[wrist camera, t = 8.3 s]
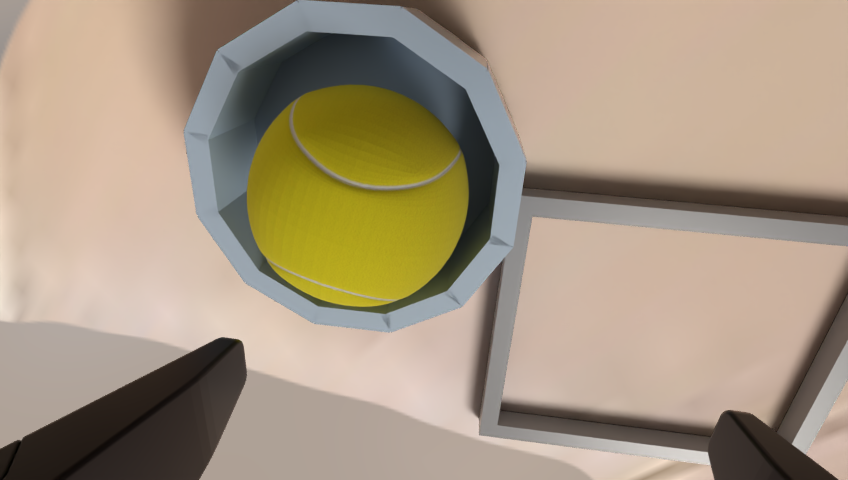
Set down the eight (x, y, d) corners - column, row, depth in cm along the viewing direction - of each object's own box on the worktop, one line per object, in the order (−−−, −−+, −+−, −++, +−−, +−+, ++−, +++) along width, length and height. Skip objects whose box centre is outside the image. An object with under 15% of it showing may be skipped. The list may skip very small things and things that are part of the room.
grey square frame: (908, 222, 18) (930, 233, 17) (781, 458, 23) (793, 476, 23) (512, 186, 19) (514, 195, 18) (479, 419, 25) (479, 435, 24)
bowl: (534, 15, 16) (549, 15, 13) (495, 289, 21) (498, 345, 18) (228, -4, 17) (161, -9, 14) (256, 263, 22) (212, 312, 18)
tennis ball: (315, 46, 17) (219, 63, 11) (497, 111, 17) (506, 164, 11) (280, 214, 20) (189, 304, 14) (436, 268, 21) (416, 379, 14)
